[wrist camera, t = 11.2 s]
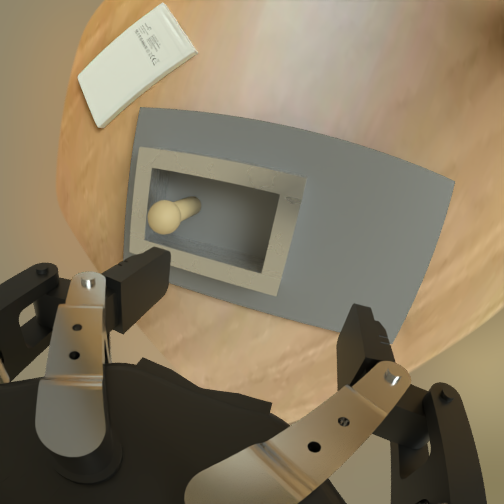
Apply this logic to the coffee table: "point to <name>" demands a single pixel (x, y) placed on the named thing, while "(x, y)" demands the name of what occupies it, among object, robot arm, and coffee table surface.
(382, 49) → the coffee table surface
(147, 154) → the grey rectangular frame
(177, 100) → the coffee table surface
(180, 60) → the external hard drive
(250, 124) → the board
